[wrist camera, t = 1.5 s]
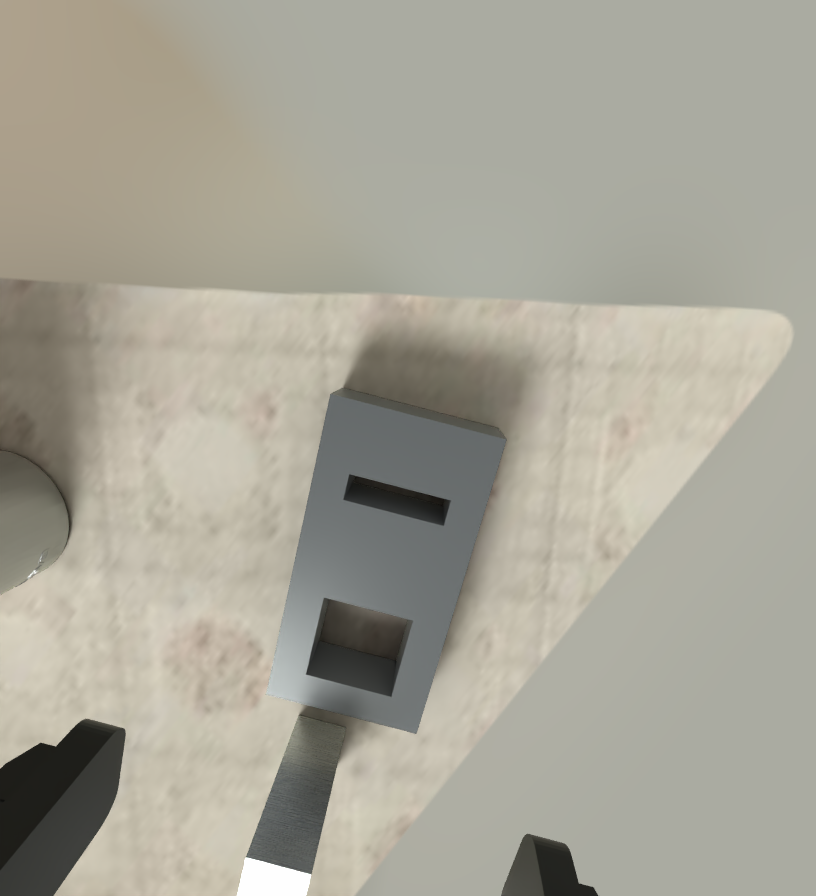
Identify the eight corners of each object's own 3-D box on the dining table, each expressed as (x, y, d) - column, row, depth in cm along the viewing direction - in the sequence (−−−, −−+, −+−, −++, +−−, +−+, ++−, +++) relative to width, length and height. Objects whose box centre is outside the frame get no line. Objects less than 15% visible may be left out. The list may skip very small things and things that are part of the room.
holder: (418, 694, 34) (416, 733, 31) (283, 659, 34) (266, 694, 31) (498, 428, 30) (506, 439, 26) (342, 387, 30) (330, 394, 26)
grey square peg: (335, 766, 36) (298, 923, 26) (289, 754, 36) (234, 906, 26) (346, 727, 35) (311, 874, 26) (298, 715, 35) (246, 857, 26)
